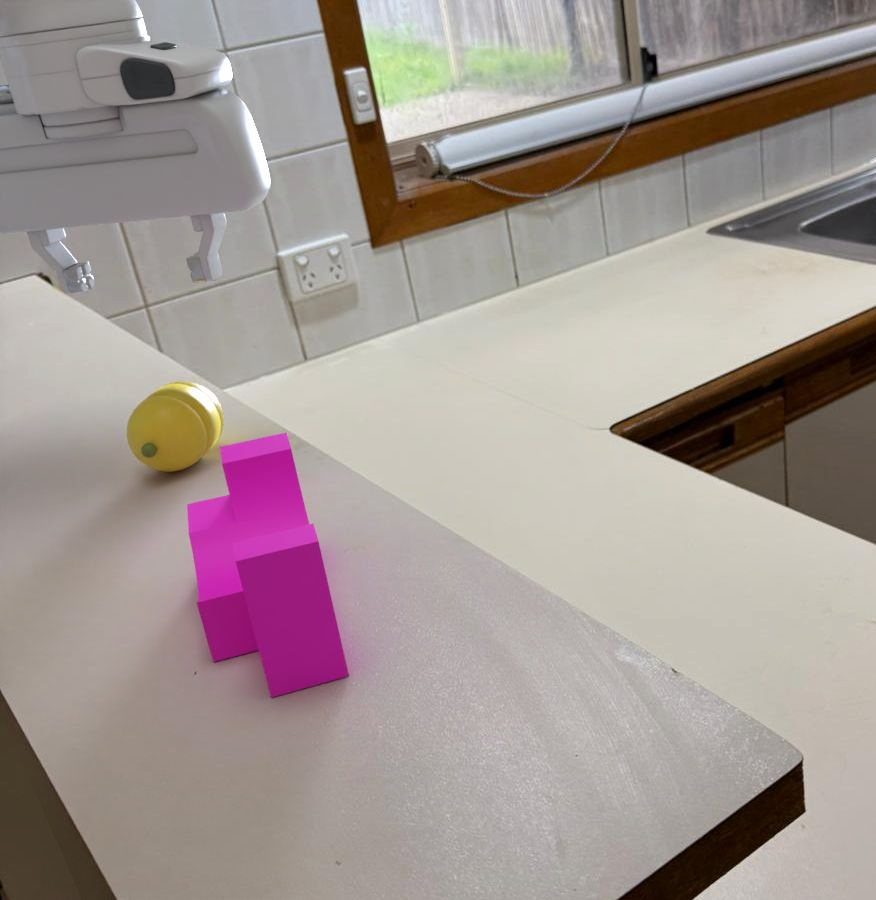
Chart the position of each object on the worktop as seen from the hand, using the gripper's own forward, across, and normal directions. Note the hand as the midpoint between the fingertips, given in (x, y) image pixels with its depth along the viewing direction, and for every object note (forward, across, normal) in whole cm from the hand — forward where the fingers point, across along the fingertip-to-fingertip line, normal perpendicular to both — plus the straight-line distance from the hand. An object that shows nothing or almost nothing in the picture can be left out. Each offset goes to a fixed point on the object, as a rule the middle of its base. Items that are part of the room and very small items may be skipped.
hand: (143, 285), depth 78 cm
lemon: (+13, 0, 0) cm, 13 cm away
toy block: (+13, +14, -22) cm, 30 cm away
